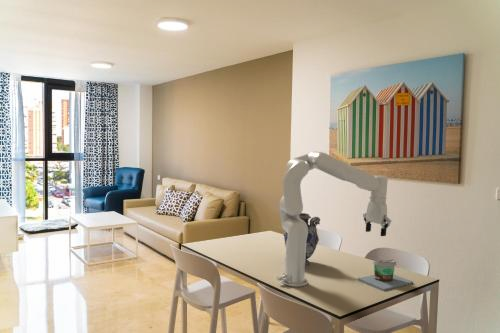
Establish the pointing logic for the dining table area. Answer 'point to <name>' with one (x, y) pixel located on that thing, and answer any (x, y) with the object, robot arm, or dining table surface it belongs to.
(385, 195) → the robot arm
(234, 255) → the dining table surface
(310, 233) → the decorative vase
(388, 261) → the food container
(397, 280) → the slate mat
